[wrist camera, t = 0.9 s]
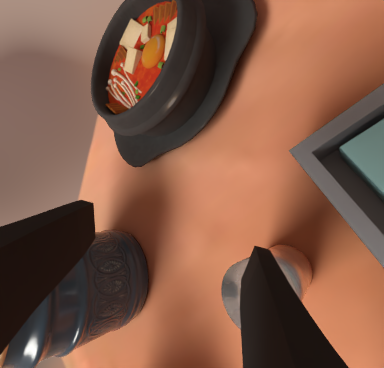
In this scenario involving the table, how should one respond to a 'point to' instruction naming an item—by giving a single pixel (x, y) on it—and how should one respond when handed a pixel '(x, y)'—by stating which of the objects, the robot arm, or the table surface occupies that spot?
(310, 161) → the tray
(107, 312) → the canister
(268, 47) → the table surface
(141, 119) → the casserole
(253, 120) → the table surface
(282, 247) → the peg
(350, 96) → the table surface
